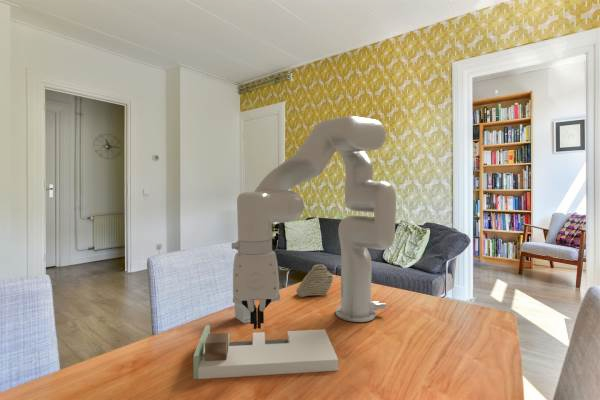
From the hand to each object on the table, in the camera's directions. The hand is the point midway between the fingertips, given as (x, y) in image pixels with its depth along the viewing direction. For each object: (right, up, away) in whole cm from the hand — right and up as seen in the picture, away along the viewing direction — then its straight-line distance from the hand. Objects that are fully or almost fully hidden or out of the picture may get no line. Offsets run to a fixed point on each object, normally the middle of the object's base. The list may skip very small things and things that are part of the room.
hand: (257, 326), depth 73 cm
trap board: (+2, -9, +3) cm, 10 cm away
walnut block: (-9, -6, -1) cm, 11 cm away
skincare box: (-7, -8, +25) cm, 27 cm away
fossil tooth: (+16, -7, +49) cm, 51 cm away
